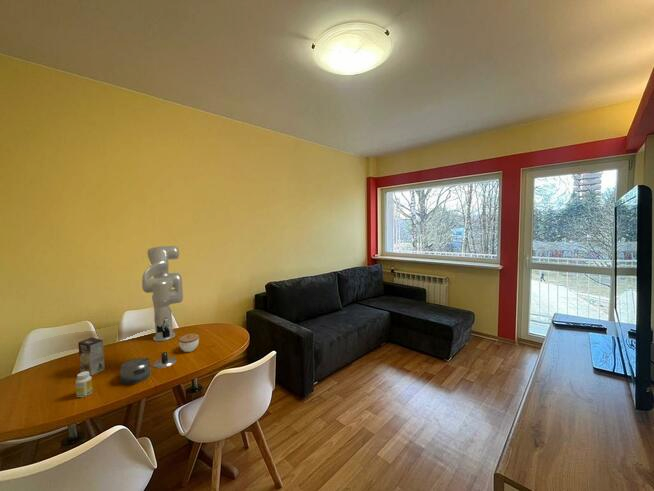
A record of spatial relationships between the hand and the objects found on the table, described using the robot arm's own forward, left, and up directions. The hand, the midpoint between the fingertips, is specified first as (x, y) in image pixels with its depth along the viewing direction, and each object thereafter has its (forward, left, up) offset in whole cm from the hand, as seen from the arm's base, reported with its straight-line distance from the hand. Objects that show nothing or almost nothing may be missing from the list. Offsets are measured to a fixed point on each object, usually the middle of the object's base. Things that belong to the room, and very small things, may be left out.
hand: (163, 334), depth 145 cm
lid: (0, 0, -16) cm, 16 cm away
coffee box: (-18, -28, -16) cm, 37 cm away
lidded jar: (-6, +15, -16) cm, 23 cm away
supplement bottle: (+4, -33, -16) cm, 37 cm away
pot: (+5, -14, -16) cm, 22 cm away
